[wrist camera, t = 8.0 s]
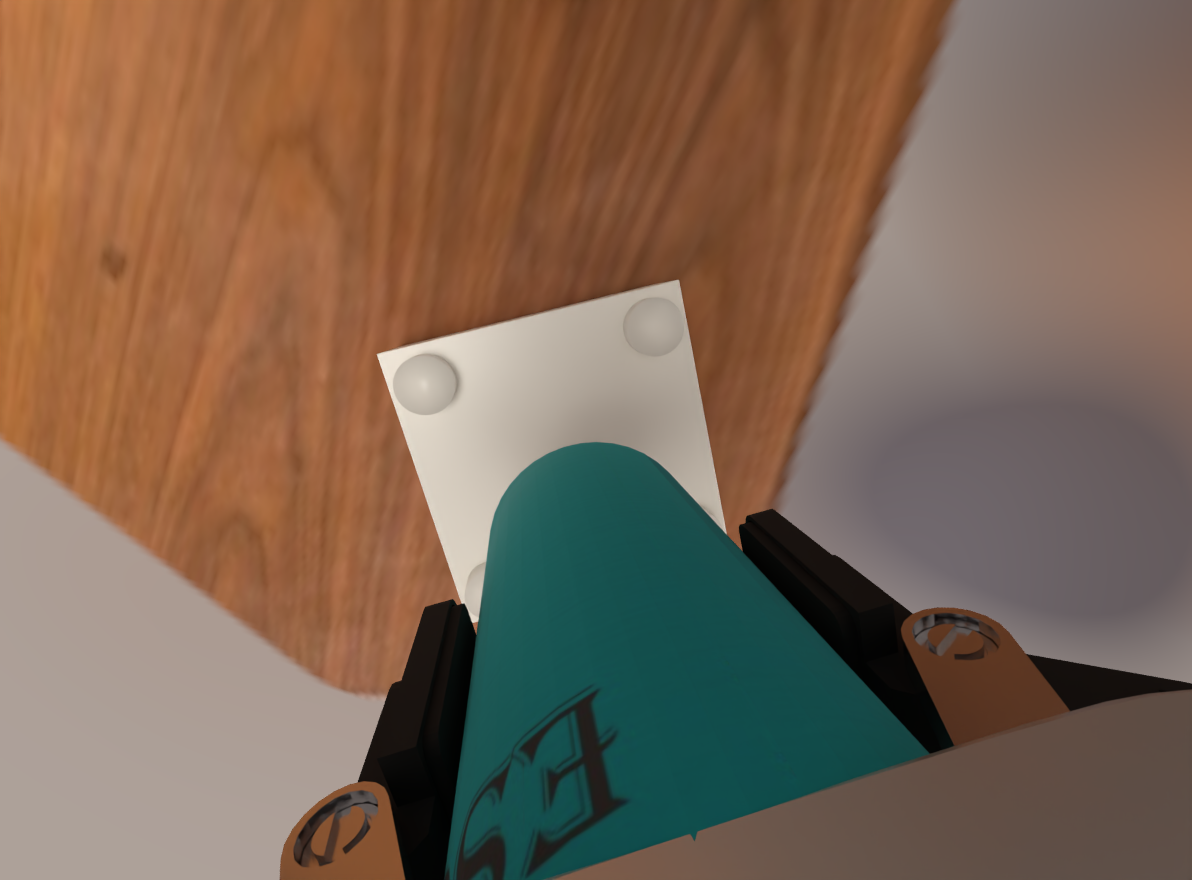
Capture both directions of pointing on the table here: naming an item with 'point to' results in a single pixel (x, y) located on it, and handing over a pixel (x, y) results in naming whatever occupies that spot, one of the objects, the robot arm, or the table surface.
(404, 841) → the robot arm
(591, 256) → the table surface
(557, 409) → the brick
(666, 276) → the table surface
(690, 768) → the beverage can
